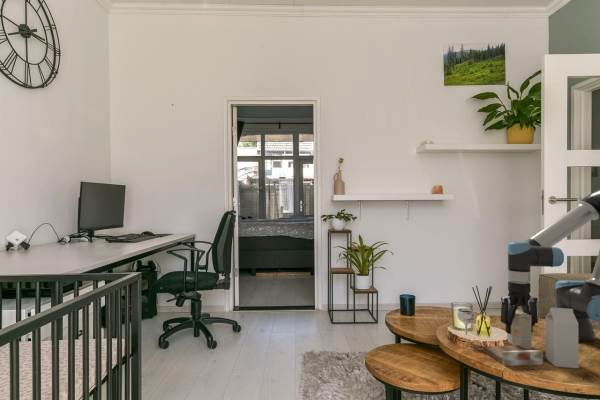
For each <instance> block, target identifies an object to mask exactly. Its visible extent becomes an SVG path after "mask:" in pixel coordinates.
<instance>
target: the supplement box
mask: <svg viewBox="0 0 600 400" xmlns="http://www.w3.org/2000/svg"><path fill="white" fill-rule="evenodd" d="M512 325H513V326H514V343H511V342H510V344H511V345H510V344H509V345H510V346H515V345H519V346H521V347H523V348H525V349H526V350H533V345H532V344H533V343H532V341H533V339H532V336H533V335H532V334H533V333H532V331H531V315H529V314H526V313H524V312H523V311H521V310H518V309H516V312H515V315H514V319H513V322H512Z"/></svg>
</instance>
